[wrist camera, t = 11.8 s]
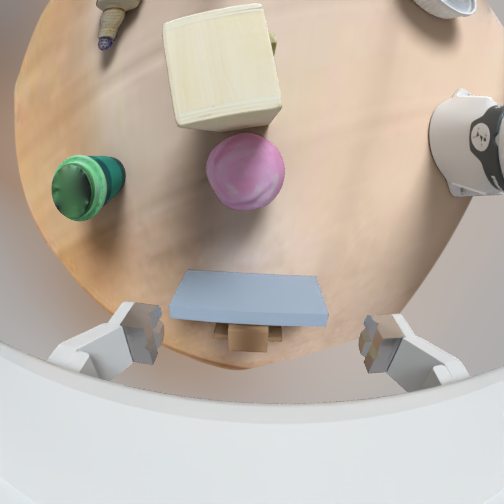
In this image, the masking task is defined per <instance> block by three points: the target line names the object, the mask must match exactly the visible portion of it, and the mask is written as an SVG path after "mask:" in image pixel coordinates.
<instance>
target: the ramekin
mask: <svg viewBox="0 0 504 504" xmlns="http://www.w3.org/2000/svg"><path fill="white" fill-rule="evenodd" d="M413 1H414V2H415V3H416V4H417V5H419V6H420V7H421V8H422V9H424V10H425V11H427V12H428V13H430V14H432V15H434V16H436V17H439V18H443V19H452V18H457V17H461V16H463V17H466V16H469V15H472V14H473V13H474V12H475V11H476V8H477V4H476V0H413Z"/></svg>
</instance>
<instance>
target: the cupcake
mask: <svg viewBox="0 0 504 504" xmlns="http://www.w3.org/2000/svg"><path fill="white" fill-rule="evenodd" d="M284 174H285V168H284V162H283V159H282V156H281V154H280V152H279V150H278V149H277V148H276V147H275V146H274V145H273V144H272V143H271V142H269V141H268V140H266V139H265V138H263V137H262V136H260V135H257V134H254V133H238V134H235V135H232V136H230V137H228V138H226V139H224V140H223V141H222V142H220V143H219V144H218V145H217V146H216V147H215V148H214V149H213V150H212V152H211V153H210V155H209V157H208V160H207V164H206V175H207V178H208V181H209V183H210V185H211V187H212V189H213V190H214V192H215V193H216V195H217V197H218V198H219V200H220V201H221V202H222V203H224V204H225V205H226V206H228V207H230V208H232V209H235V210H243V211H245V210H254V209H259V208H261V207H264V206H266V205H268V204H269V203H270V202H271V201H272V200H273V199H274V198H275V197H276V196H277V194H278V193H279V191H280V190H281V187H282V185H283V181H284Z"/></svg>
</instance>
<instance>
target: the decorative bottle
mask: <svg viewBox="0 0 504 504" xmlns="http://www.w3.org/2000/svg"><path fill="white" fill-rule="evenodd" d="M139 3H140V0H97V2H96V6H97V7H98V8H99V9H101V10H103V11H104V12H103V14H102V16H101V20H100V24H101V28H100V31H99V35H98V39H99V42H98V47H99V49H100V50H102V51H103V50H106V49H108V48H109V47H111V45H112V42H111V40H113V39H114V40H115V39H116V37H117V30H118V28H119V26H120V24H121V23H122V21H123V19H124V16H125V11H128V10H131V9H134V8H136V7H137V6H138V5H139ZM114 40H113V41H114Z"/></svg>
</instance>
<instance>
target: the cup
mask: <svg viewBox="0 0 504 504" xmlns="http://www.w3.org/2000/svg"><path fill="white" fill-rule="evenodd" d="M125 177H126V175H125V169H124V167H123V165H122V163H121V162H120V161H119V160H117V159H115V158H112V157H106V156H84V155H76V156H72V157H70V158H68V159H66V160H65V161H63V162H62V163H61V164H60V166H59V167H58V168H57V170H56V172H55V174H54V177H53V182H52V197H53V201H54V203H55V206H56V207H57V209H58V210H59V211H60V212H61V213H62V214H63V215H64V216H66V217H67V218H69V219H71V220H74V221H85V220H88V219H90V218H92V217H94V216H95V215H96V214H97V213H98V212H99V211H100V210H101V208H102V207H103V206H104V205H105V204H106V203H107V202H108V201H109V200H111V199H112V198H113V197H114V196H115V195H116V194H117V193H118V191H119V190H120V189H121V188H122V186H123V184H124V182H125Z"/></svg>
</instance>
